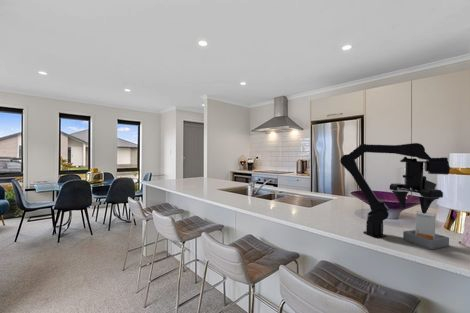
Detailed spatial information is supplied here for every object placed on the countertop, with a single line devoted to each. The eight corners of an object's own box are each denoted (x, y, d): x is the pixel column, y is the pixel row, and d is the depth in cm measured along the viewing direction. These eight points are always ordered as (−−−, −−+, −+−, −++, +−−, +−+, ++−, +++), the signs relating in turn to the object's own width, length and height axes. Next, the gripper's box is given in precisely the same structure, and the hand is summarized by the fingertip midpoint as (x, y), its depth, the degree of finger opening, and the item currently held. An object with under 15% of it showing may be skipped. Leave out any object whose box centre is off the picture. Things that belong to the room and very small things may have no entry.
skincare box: (414, 241, 90) (415, 212, 90) (415, 238, 93) (416, 210, 93) (434, 246, 86) (435, 215, 86) (435, 242, 89) (435, 213, 89)
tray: (431, 249, 83) (432, 240, 83) (403, 239, 93) (403, 231, 93) (448, 246, 86) (449, 237, 86) (419, 236, 96) (419, 228, 96)
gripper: (456, 175, 82) (455, 216, 82) (410, 171, 101) (410, 204, 101) (430, 175, 81) (429, 217, 81) (388, 171, 99) (388, 205, 100)
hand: (413, 210), depth 91 cm, fingers open, 9 cm apart
